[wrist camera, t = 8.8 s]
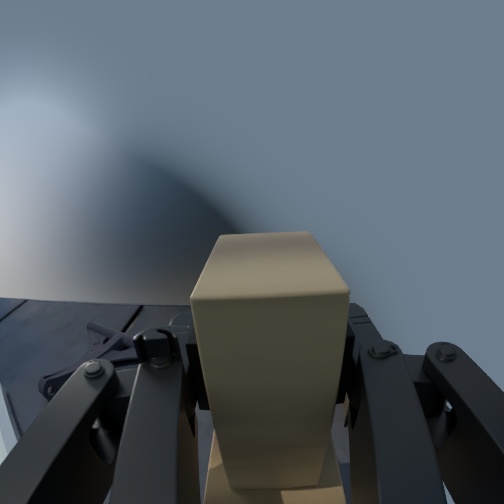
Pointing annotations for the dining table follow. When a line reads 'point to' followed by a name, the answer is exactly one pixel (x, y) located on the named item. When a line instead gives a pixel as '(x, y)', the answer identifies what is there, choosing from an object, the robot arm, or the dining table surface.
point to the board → (6, 427)
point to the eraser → (271, 368)
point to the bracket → (92, 356)
